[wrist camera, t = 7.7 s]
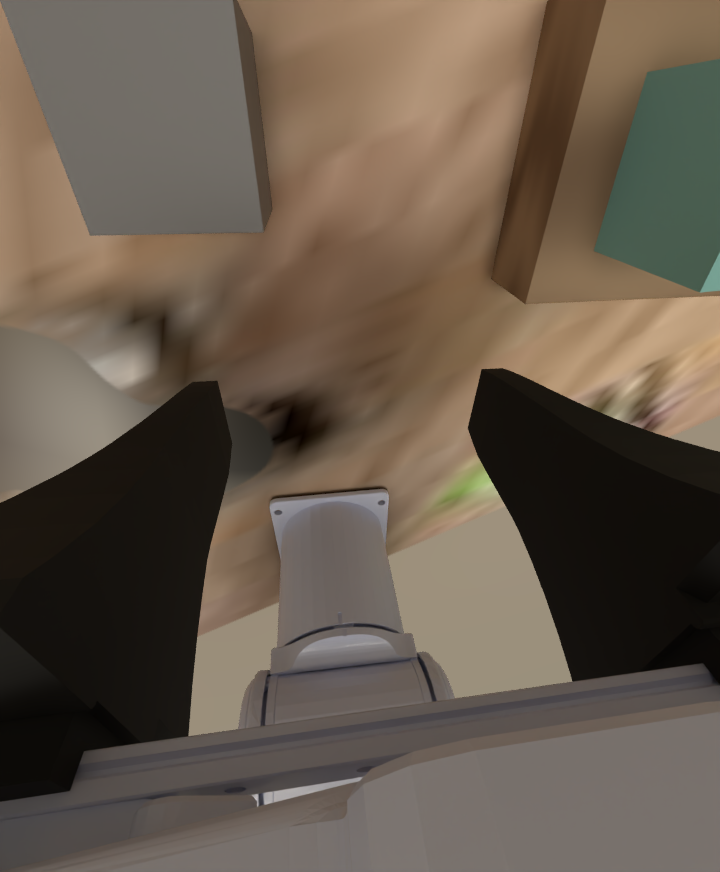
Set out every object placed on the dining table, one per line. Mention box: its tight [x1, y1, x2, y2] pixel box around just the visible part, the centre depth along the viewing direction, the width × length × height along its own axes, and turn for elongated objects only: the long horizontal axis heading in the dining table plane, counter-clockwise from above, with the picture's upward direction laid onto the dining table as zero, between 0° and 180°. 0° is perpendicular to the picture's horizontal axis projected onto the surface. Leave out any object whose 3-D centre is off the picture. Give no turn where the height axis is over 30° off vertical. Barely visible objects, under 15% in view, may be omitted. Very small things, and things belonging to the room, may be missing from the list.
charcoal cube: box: [0, 0, 272, 236], centre depth 12 cm, size 5×5×5 cm
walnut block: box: [491, 0, 720, 304], centre depth 15 cm, size 9×9×4 cm
